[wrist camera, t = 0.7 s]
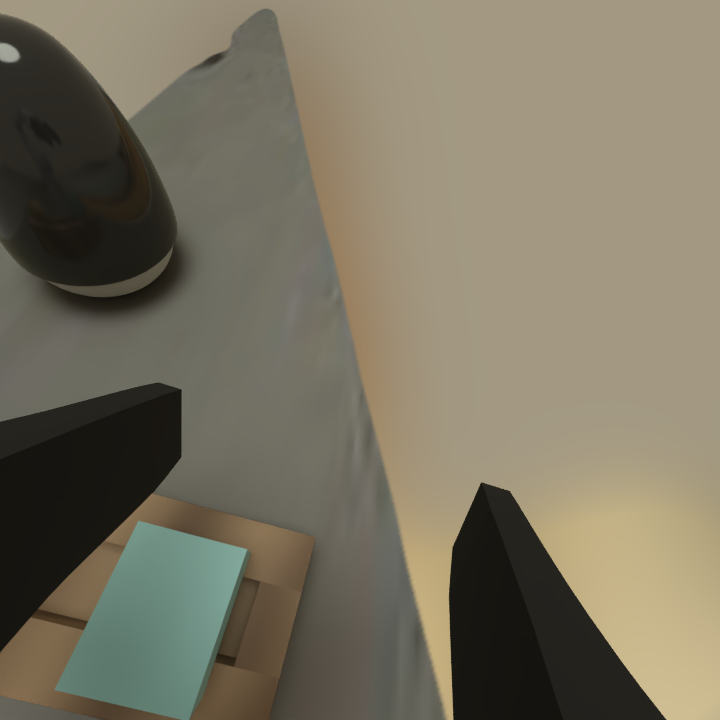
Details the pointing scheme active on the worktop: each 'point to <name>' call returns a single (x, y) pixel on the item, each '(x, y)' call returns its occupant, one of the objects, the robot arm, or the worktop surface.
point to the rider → (158, 623)
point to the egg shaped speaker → (74, 174)
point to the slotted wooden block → (240, 640)
